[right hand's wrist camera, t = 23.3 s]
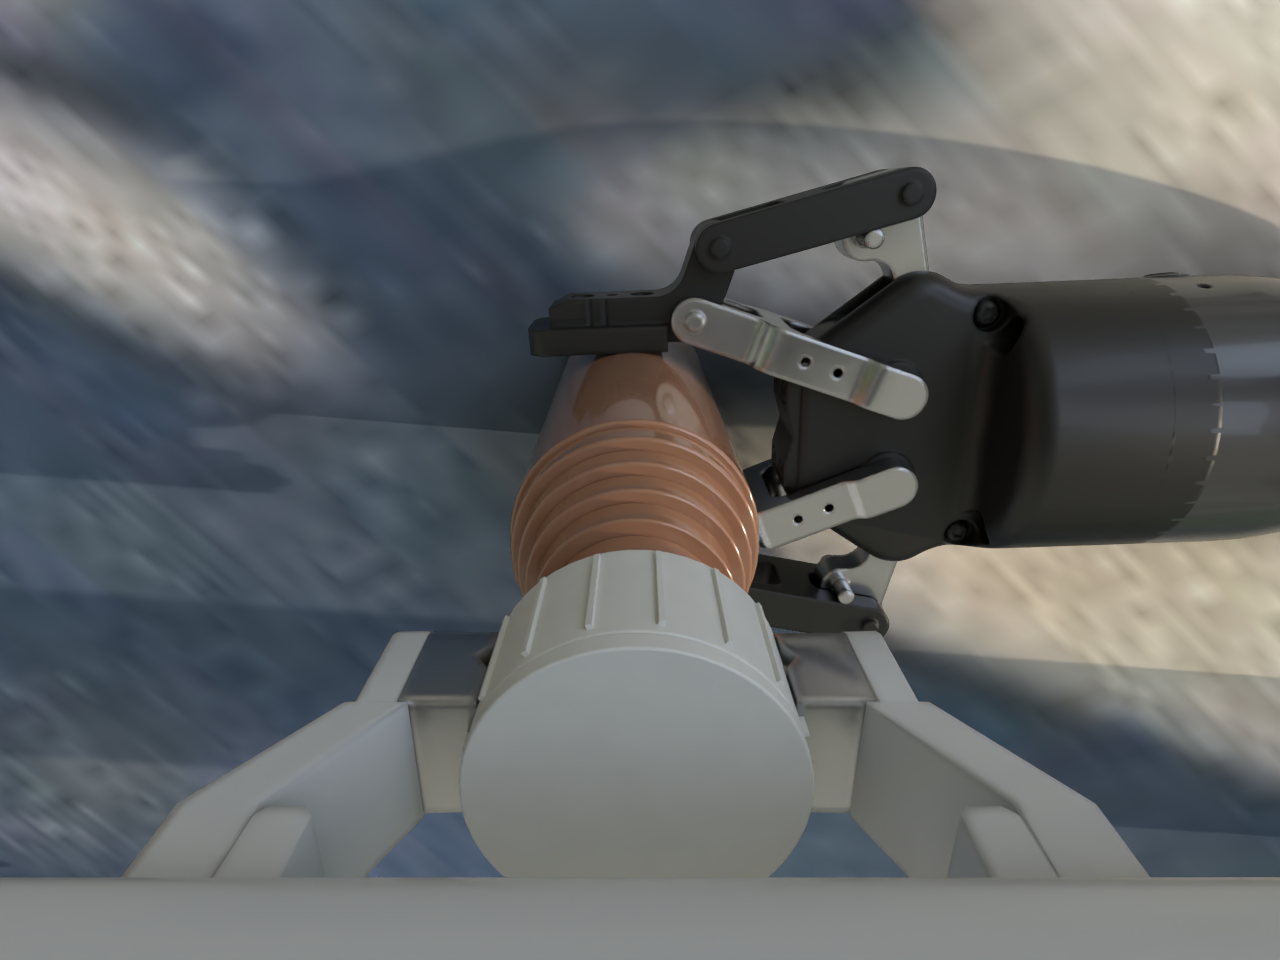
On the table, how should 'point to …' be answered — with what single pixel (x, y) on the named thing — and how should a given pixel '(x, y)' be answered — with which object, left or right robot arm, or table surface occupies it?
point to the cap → (636, 729)
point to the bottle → (634, 470)
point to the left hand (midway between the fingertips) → (544, 434)
